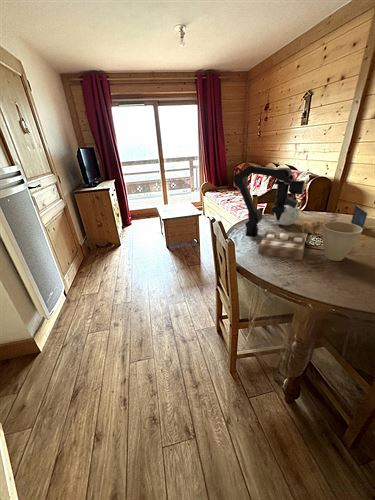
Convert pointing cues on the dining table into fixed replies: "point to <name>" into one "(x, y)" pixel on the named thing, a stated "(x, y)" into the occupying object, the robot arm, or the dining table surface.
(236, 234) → the dining table surface
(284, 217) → the puzzle ball
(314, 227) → the lion figurine
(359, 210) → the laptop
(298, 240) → the button right
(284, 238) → the button middle
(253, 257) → the dining table surface
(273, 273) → the dining table surface
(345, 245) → the plant pot
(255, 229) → the robot arm
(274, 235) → the button left
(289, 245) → the button board
